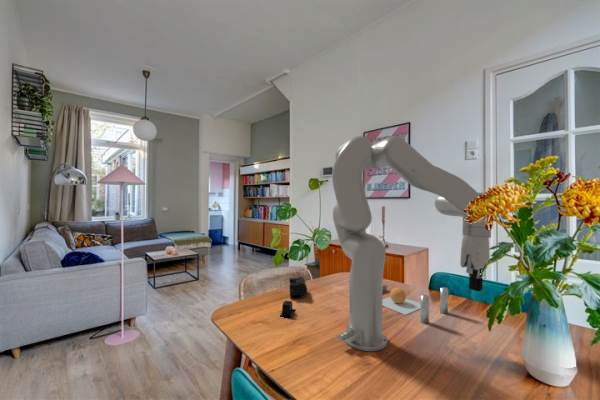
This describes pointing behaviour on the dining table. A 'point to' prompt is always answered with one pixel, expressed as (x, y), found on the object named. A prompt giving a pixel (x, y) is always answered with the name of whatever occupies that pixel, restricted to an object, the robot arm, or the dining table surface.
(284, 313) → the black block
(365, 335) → the robot arm
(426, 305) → the left post
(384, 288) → the stopper wall
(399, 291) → the ball
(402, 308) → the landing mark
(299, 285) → the end cap
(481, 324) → the dining table surface
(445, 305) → the right post
